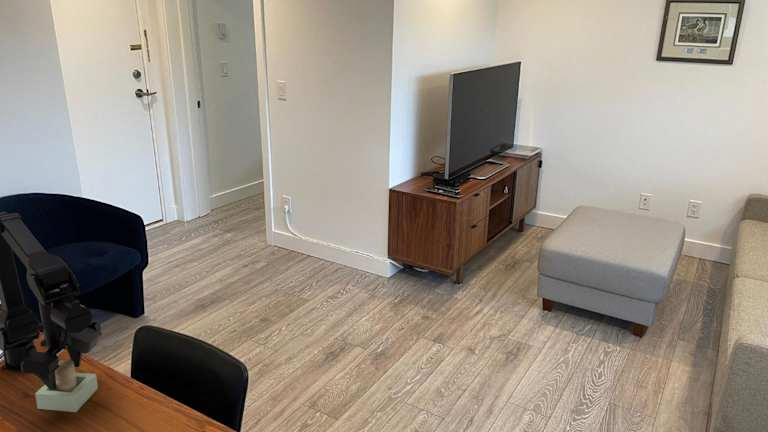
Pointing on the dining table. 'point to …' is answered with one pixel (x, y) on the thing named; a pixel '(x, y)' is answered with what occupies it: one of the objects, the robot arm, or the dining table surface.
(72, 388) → the peg
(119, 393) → the dining table surface
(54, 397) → the socket
